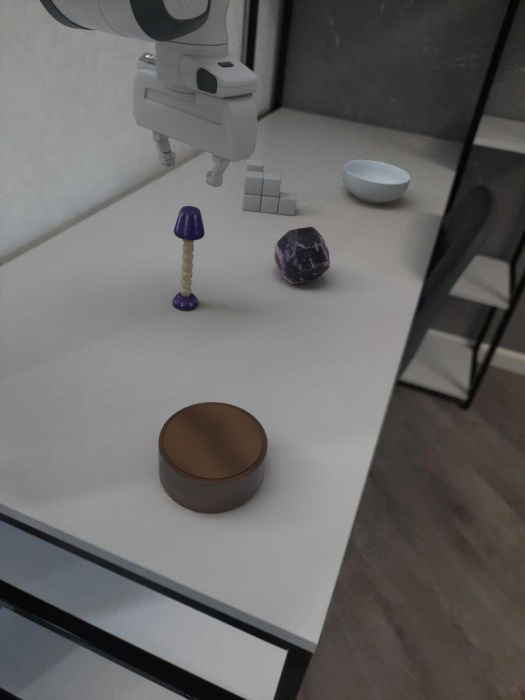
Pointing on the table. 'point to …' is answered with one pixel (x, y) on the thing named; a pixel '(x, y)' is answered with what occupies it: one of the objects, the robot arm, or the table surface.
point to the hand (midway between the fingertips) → (190, 174)
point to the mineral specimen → (302, 255)
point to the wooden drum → (212, 456)
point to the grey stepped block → (266, 191)
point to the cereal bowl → (375, 180)
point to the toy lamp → (187, 253)
